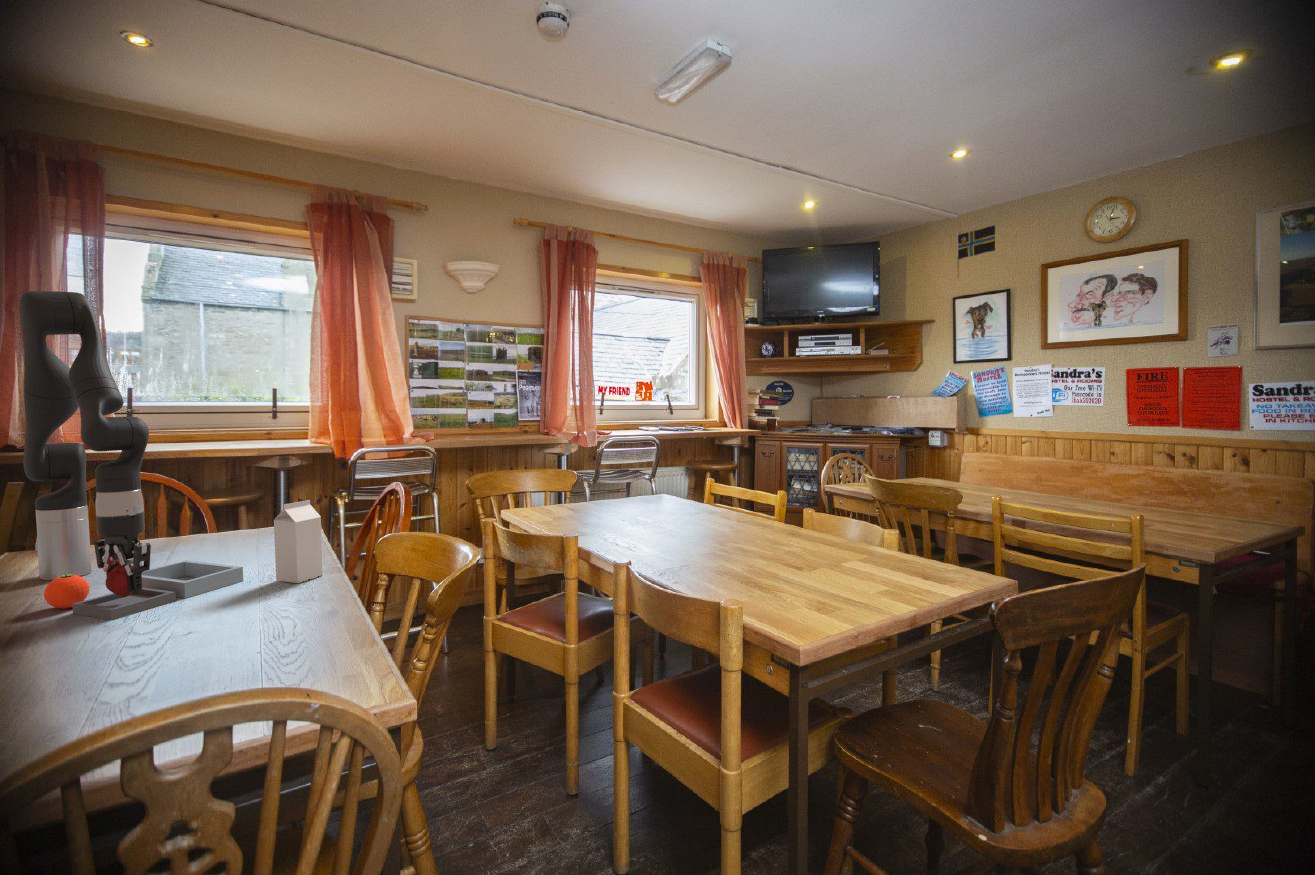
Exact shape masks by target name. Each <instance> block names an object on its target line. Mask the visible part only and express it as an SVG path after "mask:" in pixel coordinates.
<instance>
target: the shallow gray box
mask: <svg viewBox="0 0 1315 875" xmlns="http://www.w3.org/2000/svg"><path fill="white" fill-rule="evenodd" d="M141 575H142V587H144V588H151V589H158V590H165V591H173V592H176V598H181V599H188V598H192V597H195V596H197V595H201V594H205V593H208V592H212V591H214V590H217V589H221V588H224V587H228V586H231V585H235V584H238V583H242V582H244V568H243V566H238V565H230V564H229V565H228V564H220V563H212V562H211V563H210V562H205V561H204V562H203V561H195V560H182V561H177V562H173V563H169V564H164V565H161V566H156V567H152V568H150V569H149V570H147V571H144V572H142V574H141ZM184 576H185V577H192V579H188V580H184V579H183V580H182V579H177V578H180V577H181V578H182V577H184ZM193 577H194V578H193Z"/></svg>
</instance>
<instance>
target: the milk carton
mask: <svg viewBox="0 0 1315 875" xmlns="http://www.w3.org/2000/svg"><path fill="white" fill-rule="evenodd" d="M321 518H322V517H321V515H320V513H318V511H316V509H315V508H314V507H313V506H312V505H311V499H307V500H302V501H296V502H291V503H285V504H283V509H282V510H281V511H280V513H279V514H278V515H277V516H276V517H275V518H274V519H273V533H274V537H273V538H274V554H275V555H274V557H275V558H274V559H275V561H274V562H275V580H276V581H279V582H285V583H292V584H301V583H304V582H307V581H309V580H308V579H310V580H313V579H316V578H318V576H319V577H322V576H323V575H324V574H323V573H324V572H323V571H324V570H323V546H322V545H323V544H322V538H323V537H322V519H321ZM321 575H322V576H321ZM306 580H307V581H306ZM303 581H304V582H303Z"/></svg>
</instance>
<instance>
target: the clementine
mask: <svg viewBox="0 0 1315 875" xmlns="http://www.w3.org/2000/svg"><path fill="white" fill-rule="evenodd" d="M90 589H91V588H90V583H89V582H88V581H87V579H85V578H84V577H82V576H77V575H71V574H68V575H62V576H61V577H58V578H56V579H54V580H50V582H49V583H48V584H47V585H46V588H45V589H44V592H43V597H44V600H45V601H46V603H47V605H50V606H51V607H52V608H56V609H69V608H70V609H71V608H72V604H74V603H78V602H81V601H85V600H87V598H88V596H89V594H90Z"/></svg>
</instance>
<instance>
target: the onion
mask: <svg viewBox="0 0 1315 875" xmlns="http://www.w3.org/2000/svg"><path fill="white" fill-rule="evenodd" d="M131 566H132V569H133V564H131ZM127 575H128V574H127V571H126V568H125V566H122V565H121V563H119V565H118V566H117V567H115V568H114V569H113V570H112V571H111V572H110V573H109V574H108V576H107V577H106V579H105V582H104V583H105V586H106V589H107V590H108V591H109V592H110V593H111V594H112V593H114V594H116V595H118V596H120V597H127V596H128V595H130V594H131V592H128V582H127ZM141 576H142V575H141Z"/></svg>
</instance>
